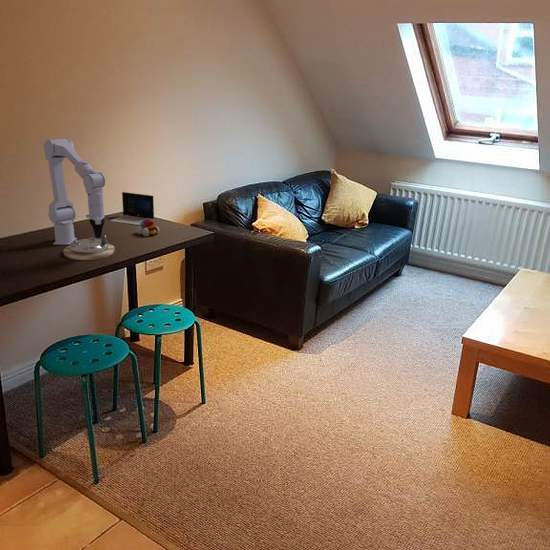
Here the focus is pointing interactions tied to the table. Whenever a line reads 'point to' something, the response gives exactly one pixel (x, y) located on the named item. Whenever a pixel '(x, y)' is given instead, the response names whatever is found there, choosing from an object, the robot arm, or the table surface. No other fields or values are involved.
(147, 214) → the laptop
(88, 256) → the base plate
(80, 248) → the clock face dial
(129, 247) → the table surface
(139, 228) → the red white round cluster
